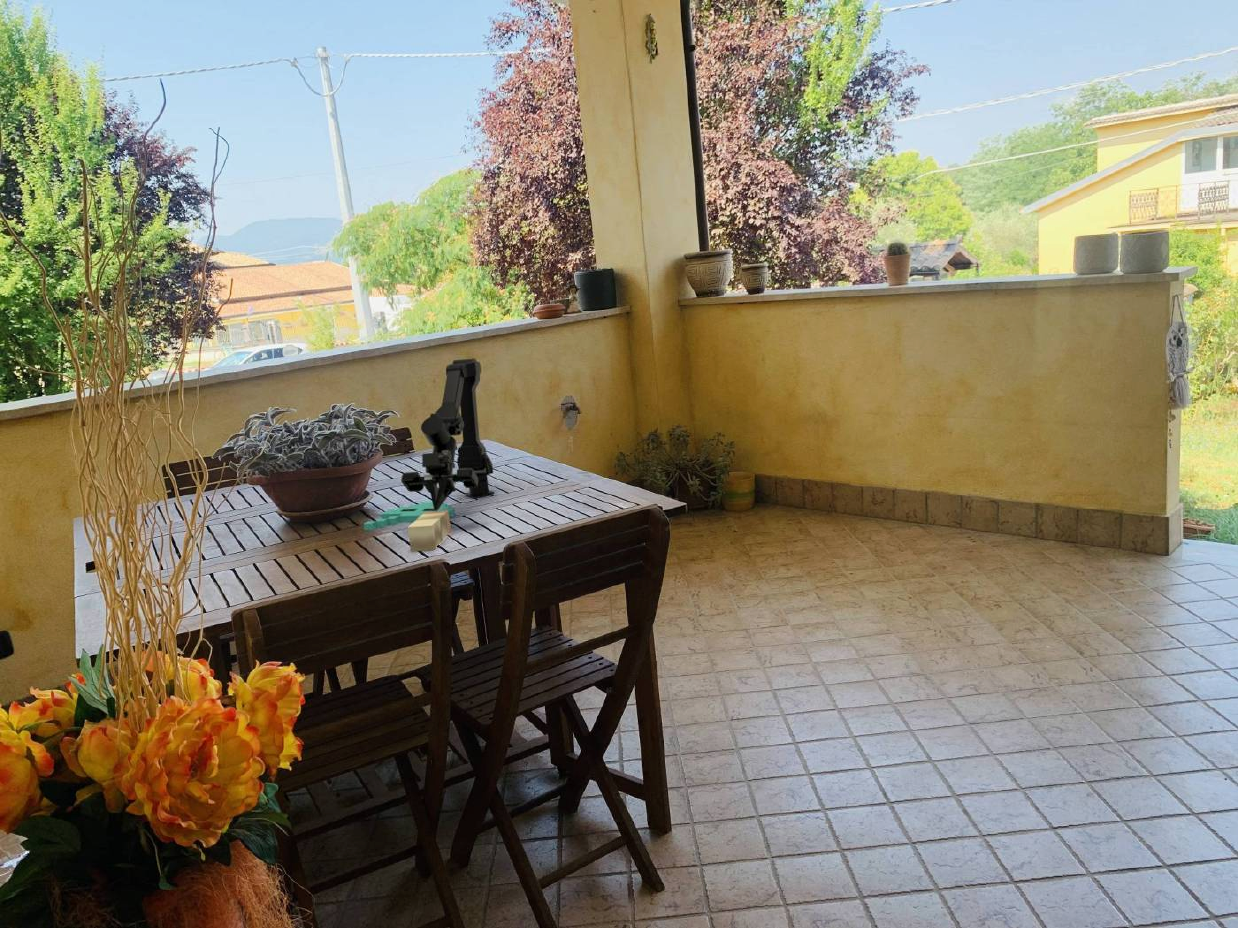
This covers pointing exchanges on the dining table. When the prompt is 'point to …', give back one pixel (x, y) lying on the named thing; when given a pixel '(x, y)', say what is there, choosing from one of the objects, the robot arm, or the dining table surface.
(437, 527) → the maple block
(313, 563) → the dining table surface
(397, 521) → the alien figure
